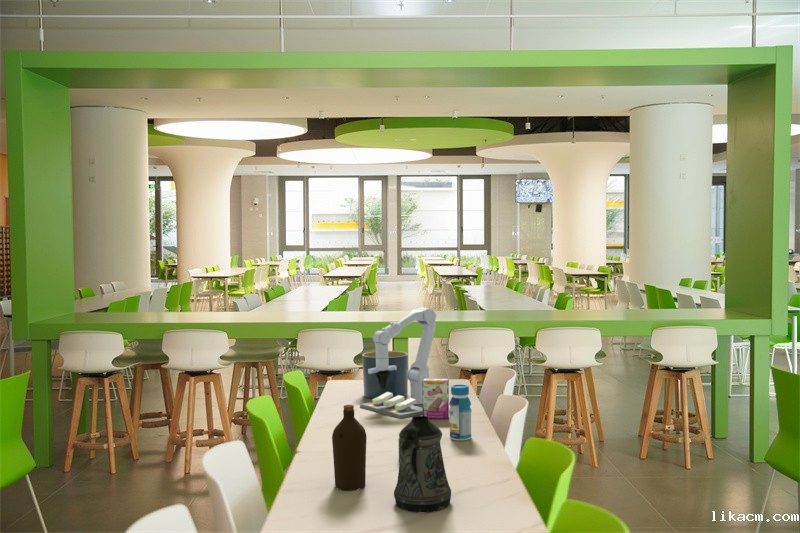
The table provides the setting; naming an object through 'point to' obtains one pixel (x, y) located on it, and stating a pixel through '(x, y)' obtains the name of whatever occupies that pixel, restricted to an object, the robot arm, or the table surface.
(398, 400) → the block
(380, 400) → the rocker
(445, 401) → the candy bar box
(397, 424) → the table surface
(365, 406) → the switch unit
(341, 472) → the olive oil
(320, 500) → the table surface
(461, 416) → the beverage bottle
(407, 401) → the rocker
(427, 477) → the beer stein
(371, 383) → the planter
